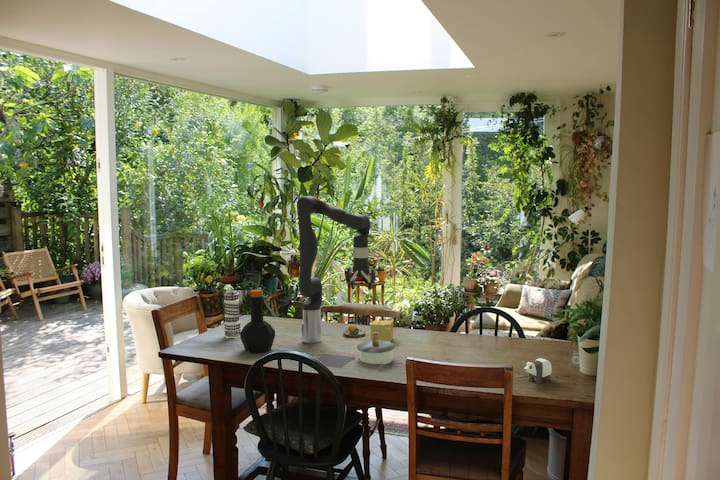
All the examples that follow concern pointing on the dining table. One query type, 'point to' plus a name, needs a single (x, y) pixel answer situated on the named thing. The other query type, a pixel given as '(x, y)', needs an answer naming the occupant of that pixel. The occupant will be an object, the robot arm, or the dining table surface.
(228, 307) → the decorative candle
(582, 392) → the dining table surface
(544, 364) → the giant panda
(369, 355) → the bowl
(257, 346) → the bottle
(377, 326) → the cheese
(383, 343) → the lid
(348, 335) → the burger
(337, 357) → the mat
